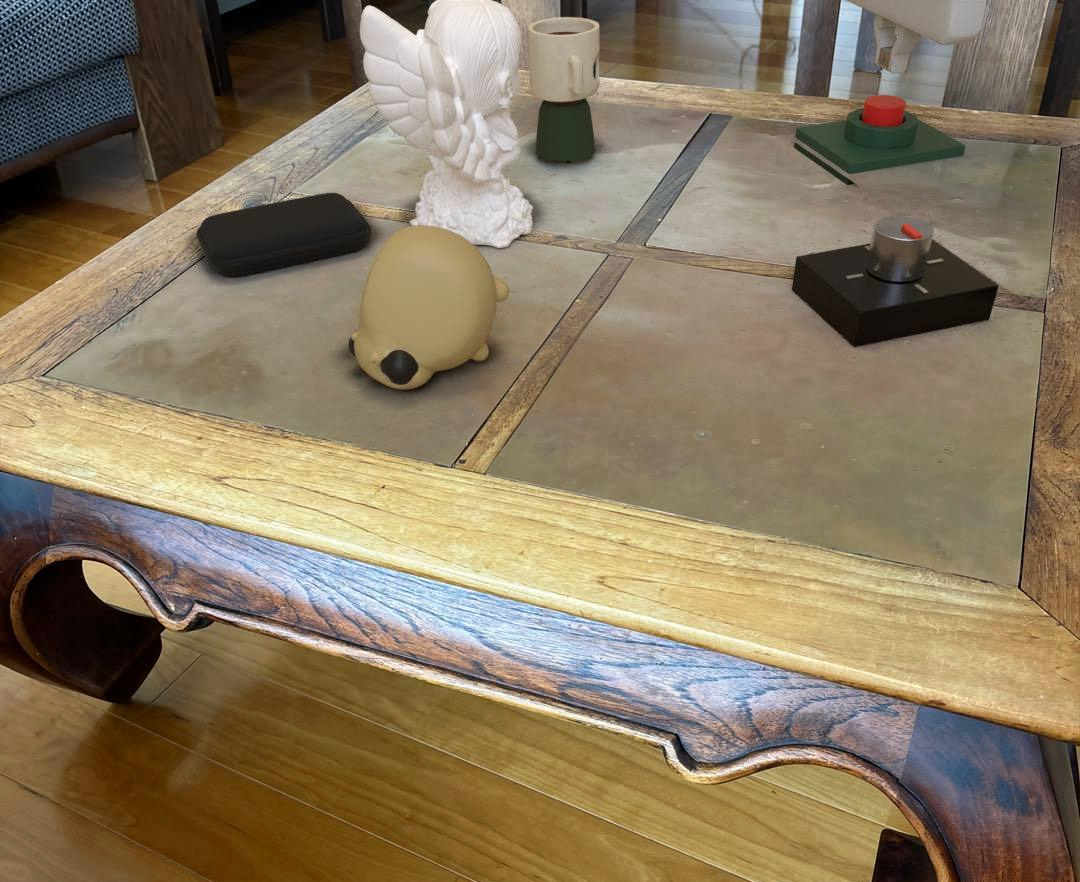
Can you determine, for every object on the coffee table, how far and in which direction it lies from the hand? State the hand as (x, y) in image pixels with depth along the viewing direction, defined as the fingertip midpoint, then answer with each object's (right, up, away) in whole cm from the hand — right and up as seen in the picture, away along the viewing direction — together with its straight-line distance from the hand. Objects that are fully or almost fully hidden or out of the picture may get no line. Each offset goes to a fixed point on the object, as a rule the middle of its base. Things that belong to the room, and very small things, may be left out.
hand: (889, 68), depth 101 cm
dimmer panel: (-6, -27, -18) cm, 34 cm away
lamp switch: (0, -7, +6) cm, 9 cm away
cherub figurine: (-41, -18, -5) cm, 45 cm away
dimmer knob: (-7, -25, -20) cm, 33 cm away
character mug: (-32, -6, +8) cm, 33 cm away
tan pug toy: (-43, -33, -23) cm, 59 cm away
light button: (0, -4, +3) cm, 5 cm away
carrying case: (-58, -20, -6) cm, 62 cm away
